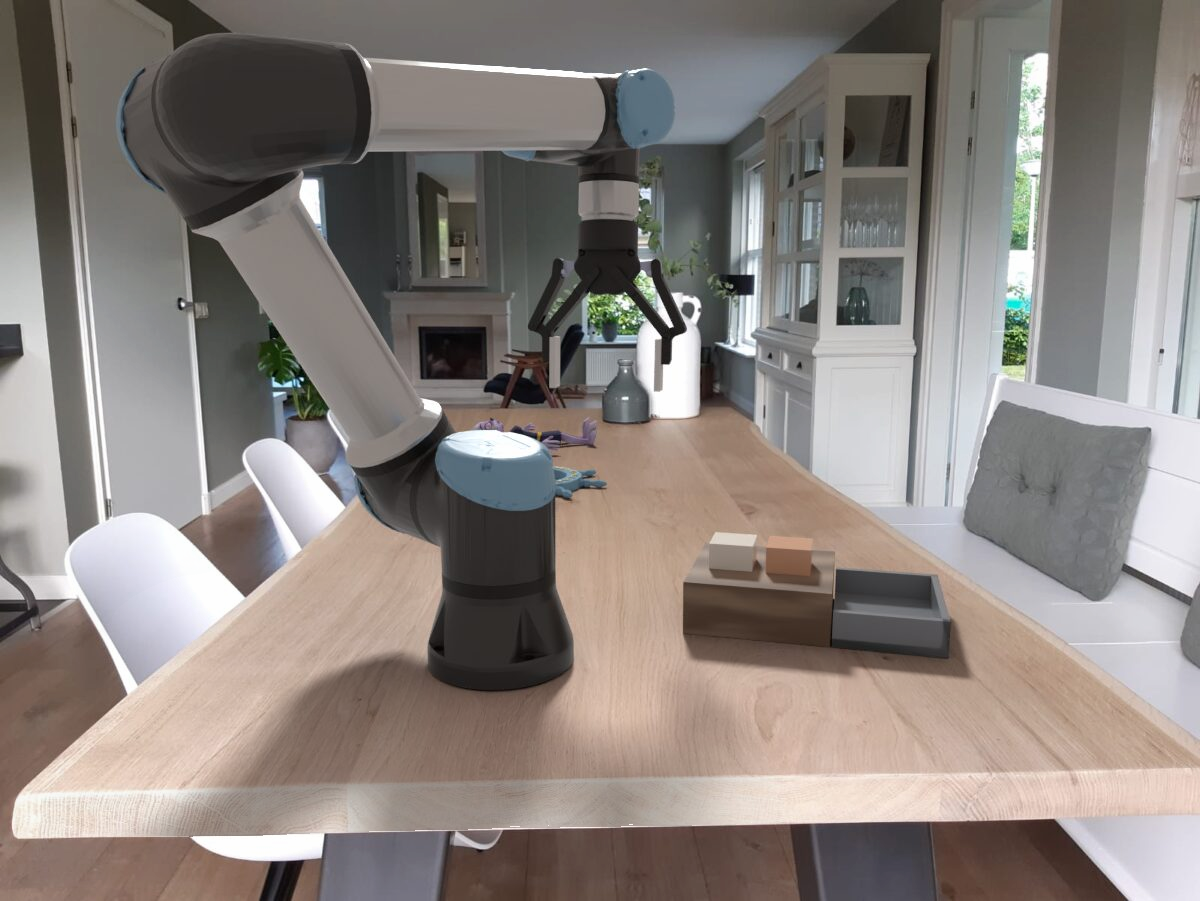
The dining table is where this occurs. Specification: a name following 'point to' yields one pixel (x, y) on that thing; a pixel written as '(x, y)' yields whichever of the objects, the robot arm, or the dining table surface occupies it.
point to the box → (890, 613)
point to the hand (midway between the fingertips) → (605, 389)
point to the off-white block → (733, 551)
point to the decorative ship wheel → (573, 480)
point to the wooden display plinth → (760, 601)
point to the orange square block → (789, 555)
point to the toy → (546, 433)
